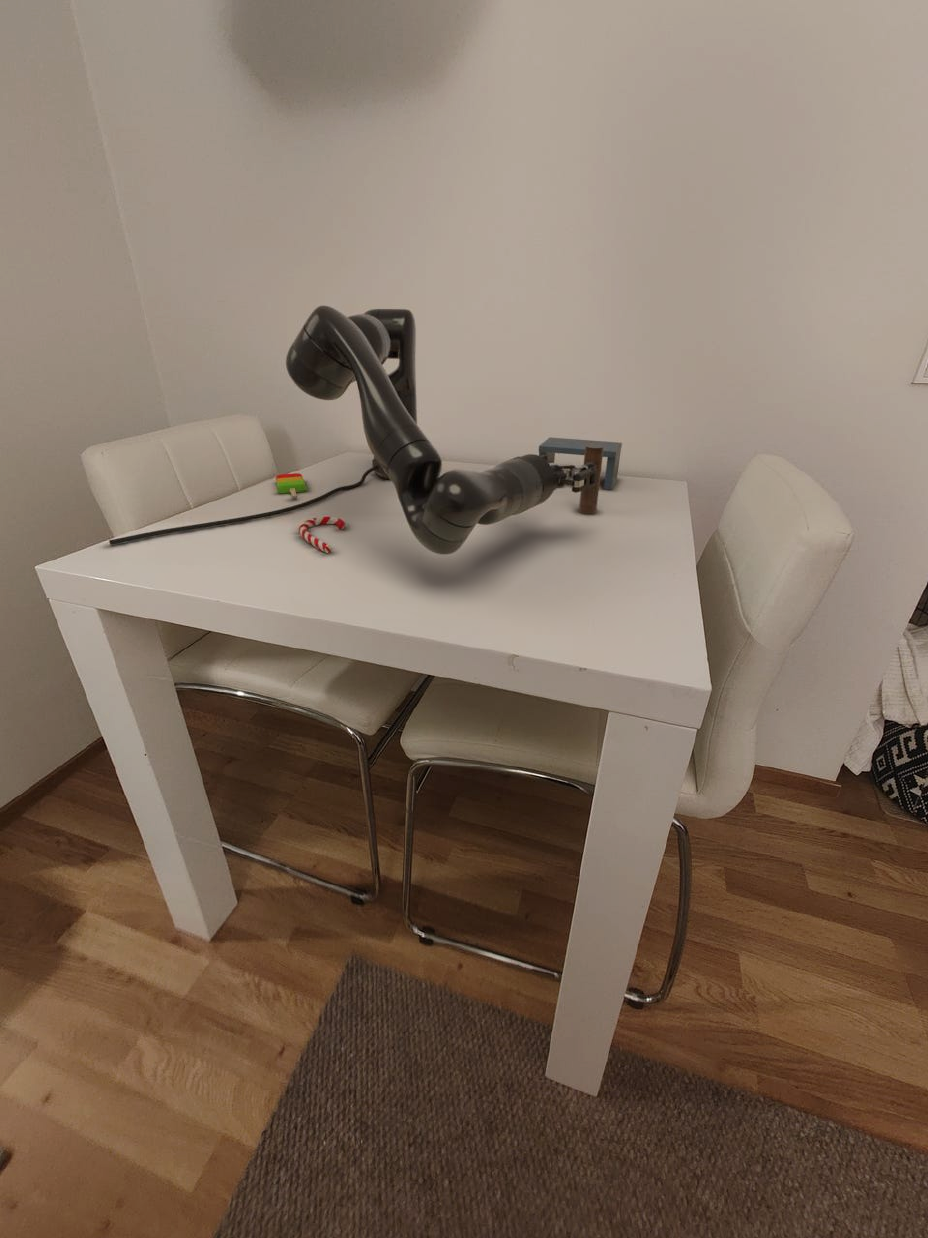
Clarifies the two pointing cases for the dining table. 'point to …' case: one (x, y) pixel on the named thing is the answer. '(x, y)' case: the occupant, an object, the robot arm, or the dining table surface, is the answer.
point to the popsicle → (290, 483)
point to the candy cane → (314, 522)
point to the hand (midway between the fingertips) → (568, 464)
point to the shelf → (578, 448)
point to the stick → (591, 494)
